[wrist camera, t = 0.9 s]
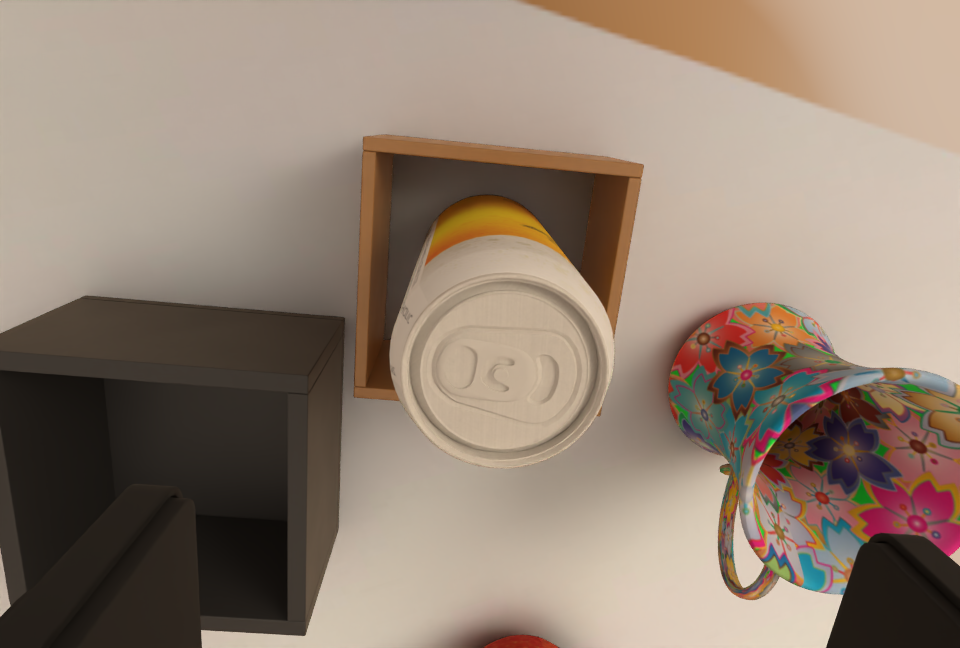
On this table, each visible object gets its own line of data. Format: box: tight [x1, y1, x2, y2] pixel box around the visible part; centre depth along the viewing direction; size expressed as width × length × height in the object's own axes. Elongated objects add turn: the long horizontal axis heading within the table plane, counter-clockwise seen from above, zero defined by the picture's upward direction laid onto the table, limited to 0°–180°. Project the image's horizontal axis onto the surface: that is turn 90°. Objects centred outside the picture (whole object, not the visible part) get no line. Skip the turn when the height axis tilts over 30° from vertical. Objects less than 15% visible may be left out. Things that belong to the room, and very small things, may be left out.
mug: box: [668, 303, 960, 600], centre depth 27 cm, size 12×9×11 cm
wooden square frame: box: [354, 135, 644, 416], centre depth 27 cm, size 10×10×6 cm
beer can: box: [389, 195, 615, 468], centre depth 23 cm, size 6×6×15 cm
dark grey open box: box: [0, 296, 345, 636], centre depth 28 cm, size 13×13×8 cm
